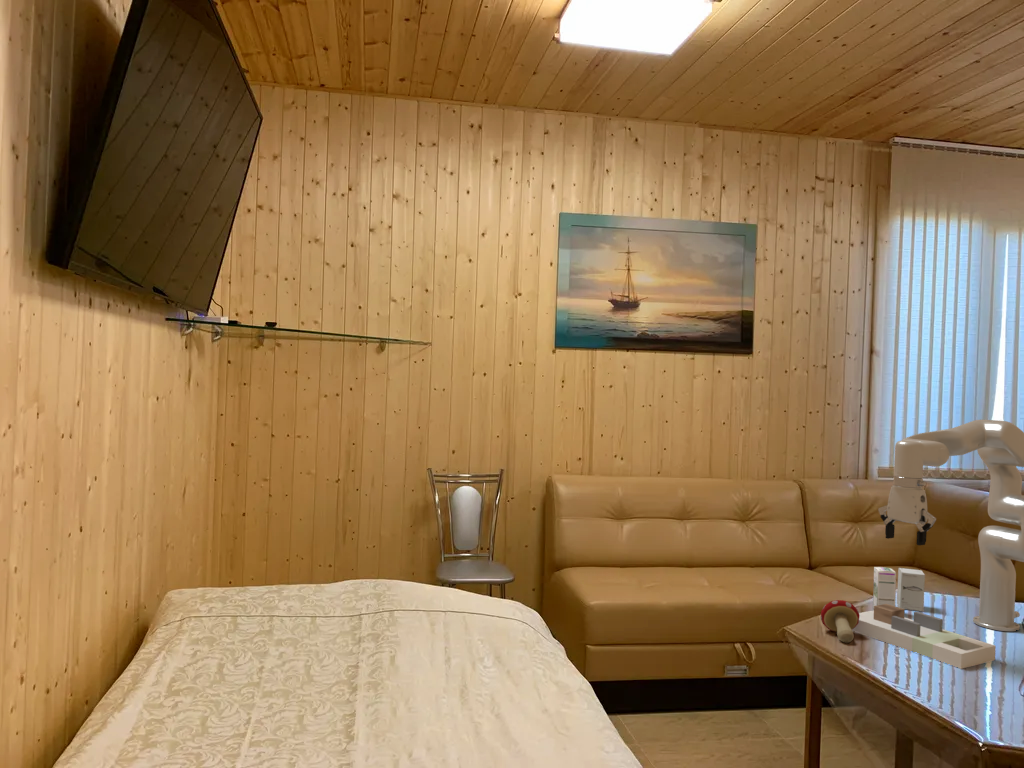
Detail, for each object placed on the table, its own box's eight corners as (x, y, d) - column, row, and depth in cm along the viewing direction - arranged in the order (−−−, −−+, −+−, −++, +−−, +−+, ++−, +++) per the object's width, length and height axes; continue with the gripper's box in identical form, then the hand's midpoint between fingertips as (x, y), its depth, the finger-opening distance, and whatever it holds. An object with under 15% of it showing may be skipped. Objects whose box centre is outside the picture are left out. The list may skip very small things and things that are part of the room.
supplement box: (899, 609, 261) (900, 571, 261) (896, 603, 268) (898, 567, 268) (923, 612, 259) (925, 574, 259) (920, 606, 266) (921, 569, 266)
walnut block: (886, 616, 238) (886, 603, 238) (904, 622, 233) (904, 609, 233) (873, 619, 235) (873, 606, 235) (891, 624, 230) (891, 611, 230)
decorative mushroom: (855, 618, 220) (845, 587, 234) (819, 632, 224) (811, 601, 238) (874, 646, 223) (863, 614, 236) (838, 660, 227) (829, 627, 240)
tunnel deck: (878, 621, 246) (879, 598, 246) (995, 660, 215) (996, 633, 215) (845, 628, 238) (846, 604, 238) (960, 668, 207) (962, 641, 207)
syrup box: (895, 615, 253) (897, 571, 253) (876, 614, 254) (878, 570, 254) (890, 610, 259) (892, 567, 259) (871, 609, 260) (873, 566, 260)
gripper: (944, 486, 221) (941, 546, 221) (888, 478, 235) (885, 534, 236) (928, 487, 217) (925, 548, 217) (872, 479, 232) (870, 536, 232)
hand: (905, 541), depth 226 cm, fingers open, 9 cm apart
